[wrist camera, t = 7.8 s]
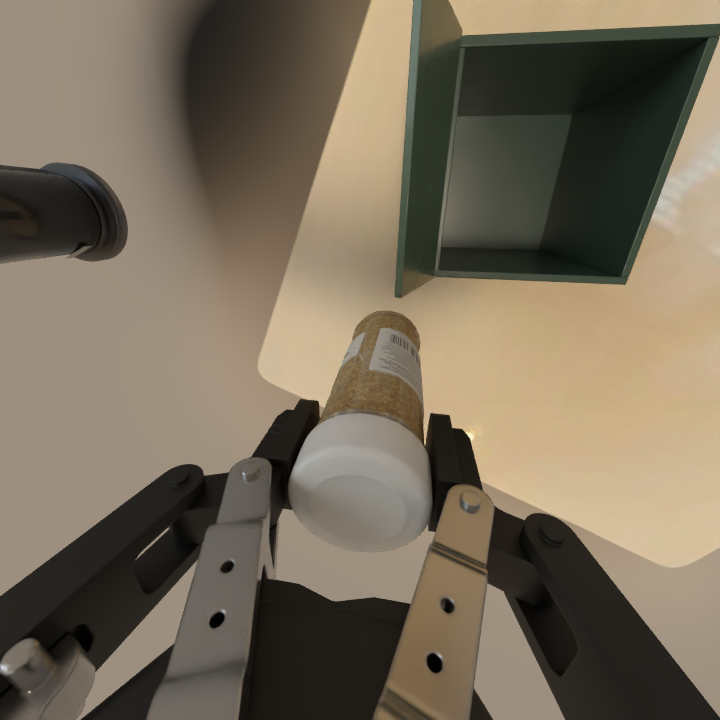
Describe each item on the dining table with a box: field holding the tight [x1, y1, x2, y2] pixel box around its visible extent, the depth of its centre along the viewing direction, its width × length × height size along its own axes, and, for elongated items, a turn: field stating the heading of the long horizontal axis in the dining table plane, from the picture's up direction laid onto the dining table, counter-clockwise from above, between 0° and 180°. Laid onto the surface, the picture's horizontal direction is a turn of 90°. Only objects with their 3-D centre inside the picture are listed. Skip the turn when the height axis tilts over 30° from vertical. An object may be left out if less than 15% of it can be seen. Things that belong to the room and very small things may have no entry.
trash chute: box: [434, 24, 720, 285], centre depth 26 cm, size 13×13×16 cm
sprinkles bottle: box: [288, 311, 433, 552], centre depth 15 cm, size 5×5×14 cm
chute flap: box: [395, 0, 462, 298], centre depth 17 cm, size 6×13×1 cm
